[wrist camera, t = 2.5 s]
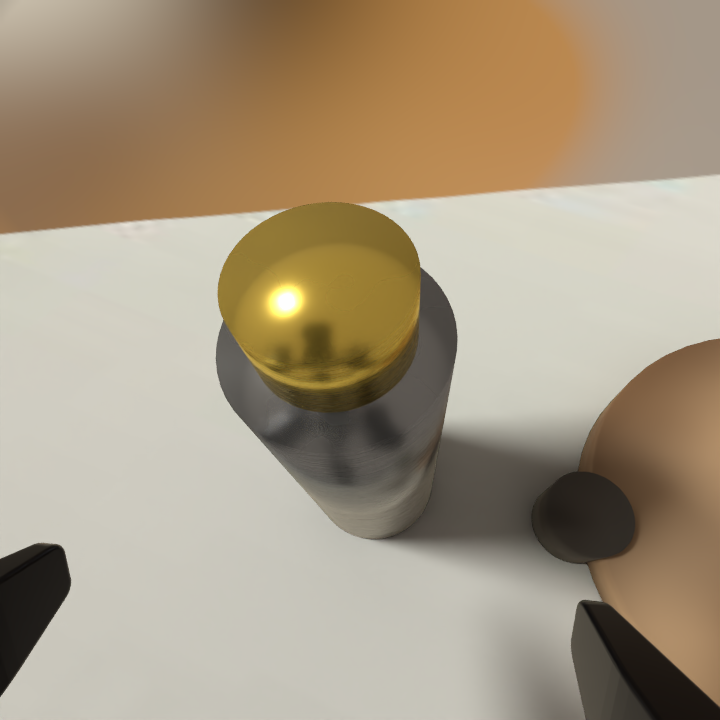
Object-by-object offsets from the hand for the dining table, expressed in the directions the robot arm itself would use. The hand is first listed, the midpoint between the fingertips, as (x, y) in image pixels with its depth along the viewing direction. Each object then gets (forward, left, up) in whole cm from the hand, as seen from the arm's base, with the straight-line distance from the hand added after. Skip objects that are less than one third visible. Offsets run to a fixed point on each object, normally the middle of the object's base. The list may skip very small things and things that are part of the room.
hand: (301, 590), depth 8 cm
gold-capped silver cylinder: (+2, -4, -12) cm, 13 cm away
